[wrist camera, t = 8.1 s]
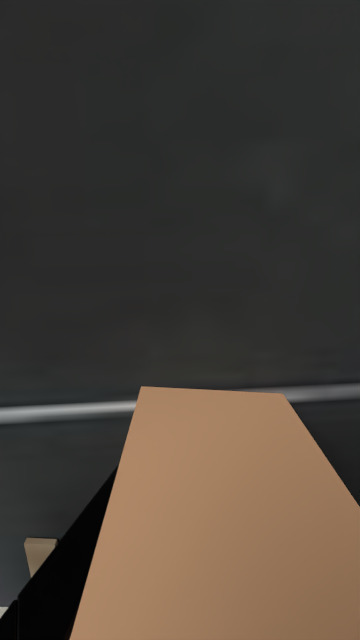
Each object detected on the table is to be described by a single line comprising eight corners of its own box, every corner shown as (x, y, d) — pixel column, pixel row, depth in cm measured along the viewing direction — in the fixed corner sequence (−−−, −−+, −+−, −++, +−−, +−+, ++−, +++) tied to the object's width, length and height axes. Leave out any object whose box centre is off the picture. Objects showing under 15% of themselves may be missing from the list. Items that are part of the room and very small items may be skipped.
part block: (260, 497, 9) (398, 935, 3) (140, 491, 9) (67, 926, 3) (282, 393, 8) (579, 831, 2) (141, 386, 8) (20, 814, 2)
